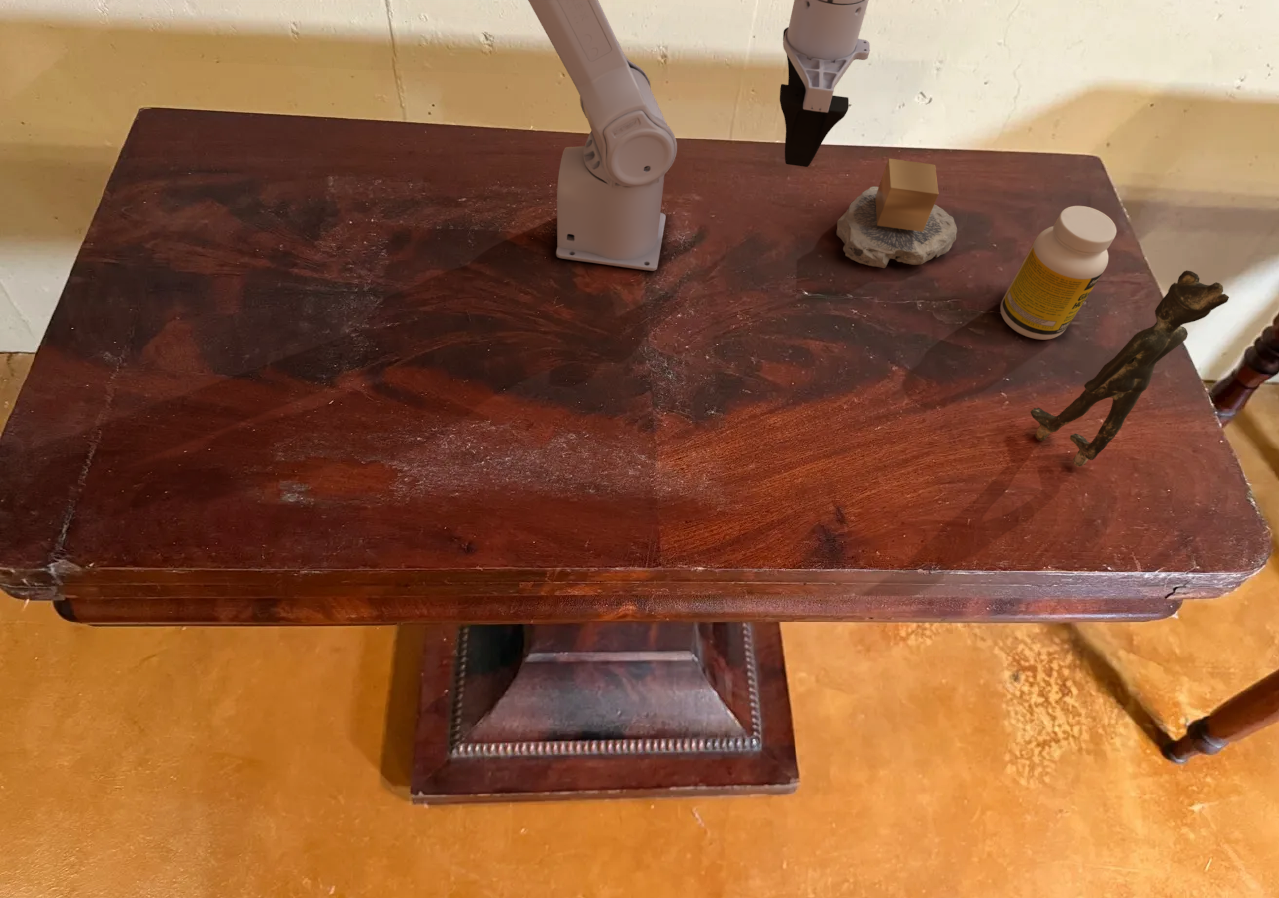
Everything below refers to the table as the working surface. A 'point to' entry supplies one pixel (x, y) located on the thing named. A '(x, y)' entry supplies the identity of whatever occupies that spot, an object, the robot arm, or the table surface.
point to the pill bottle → (1058, 273)
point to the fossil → (892, 235)
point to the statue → (1135, 364)
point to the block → (906, 195)
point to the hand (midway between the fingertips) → (797, 137)
